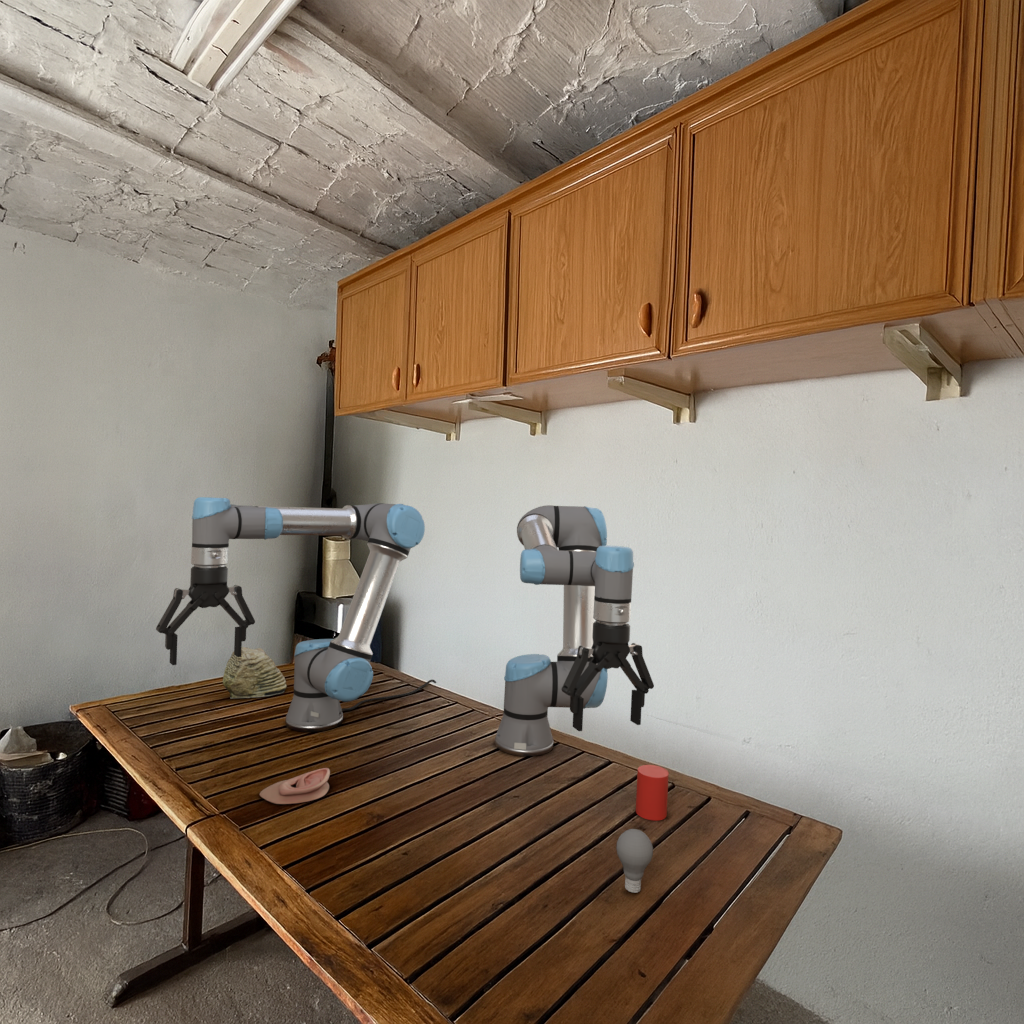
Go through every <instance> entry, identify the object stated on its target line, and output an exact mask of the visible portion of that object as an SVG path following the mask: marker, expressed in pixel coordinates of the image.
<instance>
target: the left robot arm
mask: <svg viewBox="0 0 1024 1024" xmlns="http://www.w3.org/2000/svg"><path fill="white" fill-rule="evenodd" d="M191 519H192V522H191V526H192V527H191V529H192V530H191V539H192V540H191V552H190V553H191V554H190V555H191V557H190V564H191V565H193V566H192V567H190V582H189V584H190V585H189V588H188V589H186V588H185V589H182V588H179V587H176V588H174V589H173V595H172V599H171V601H170V603H169V604H168V606H167V607H166V609H165V611H164V613H163V615H162V616H161V618H160V619H159V622H158V623H157V625H156V627H155V630H156V631H157V632H158V633H160V634H164V635H165V636H164V637H165V639H164V648H165V649H166V650H167V651H168V650H169V663H170V665H171V666H177V661H178V658H177V657H178V633H176V632H177V631H178V629H180V627H181V626H182V625H183V624H184V623H185V621H186V620H187V619H188V618H189V617H190V616H191V615H192V614H193V612H195V611H196V610H197V609H198V608H201V609H208V608H218V607H219V606H220V607H221V608H222V609H223V610H224V611H225V612H226V613H227V614H228V616H230V618H231V619H232V620H233V621H234V622H235V623H236V624H237V625H238V626H234V641H233V642H234V646H233V652H234V655H235V656H237V657H241V648H242V647H243V646H242V645H243V644H242V643H243V642H246V640H247V629H248V628H249V626H251V625H252V626H253V625H254V624H255V623H256V620H255V618H254V616H253V614H252V612H251V610H250V607H249V606H248V604H247V602H246V600H245V598H244V596H243V589H242V588H243V587H242V586H240V585H238V584H234V585H233V586H228V576H229V575H228V572H229V568H228V567H227V566H226V565H228V564H229V546H230V545H229V542H230V540H265V541H266V540H269V539H278V538H279V537H280V536H342V538H344V539H346V540H359V541H366V542H367V544H366V545H367V547H368V550H369V554H368V557H367V559H366V561H365V564H364V567H363V570H362V573H361V575H360V577H359V580H358V583H357V587H356V588H355V591H354V594H353V597H352V599H351V602H350V604H349V608H348V610H347V611H346V612H347V613H346V615H345V618H344V621H343V623H342V626H341V628H340V631H339V634H338V636H336V637H335V638H319V639H308V640H303V641H300V642H297V644H296V645H295V650H294V655H293V657H294V672H293V695H292V696H293V697H292V699H291V702H290V704H289V708H288V711H287V713H286V715H285V726H286V728H287V729H289V730H291V731H294V732H295V731H296V732H301V733H316V732H325V731H329V730H332V729H335V728H337V727H339V726H340V725H342V723H343V722H344V714H343V712H348V711H349V712H350V711H353V710H355V709H356V708H358V706H360V705H362V704H364V703H368V702H373V701H383V700H389V699H395V698H396V699H397V698H401V697H406V696H410V695H412V694H415V693H417V692H419V691H420V690H421V689H422V688H425V687H426V686H427V685H429V684H430V683H434V684H437V681H436V680H435V679H429V680H428V681H426V682H424V683H423V684H422V685H420V686H419V687H417V688H415V689H414V690H411V691H408V692H404V693H398V694H393V695H388V696H380V697H371V698H366V699H363V700H360V701H359V702H357V703H356V704H355V705H353V706H350V707H346V708H344V707H343V708H342V706H341V702H345V703H347V702H353V701H357V699H359V698H361V697H362V696H364V694H366V692H368V690H369V689H370V687H371V684H372V683H373V680H374V670H373V667H372V665H371V660H372V658H373V654H374V653H373V651H372V649H371V644H372V641H373V638H374V635H375V633H376V630H377V627H378V624H379V621H380V619H381V616H382V613H383V610H384V608H385V605H386V602H387V599H388V596H389V595H390V594H389V593H390V591H391V588H392V585H393V583H394V579H395V577H396V574H397V571H398V569H399V567H400V563H401V562H402V561H404V560H406V559H408V557H409V554H410V552H411V549H413V548H415V547H416V546H418V545H420V543H421V542H422V540H424V535H425V531H426V525H425V521H424V519H423V515H422V514H421V513H420V512H419V510H418V509H416V508H415V507H414V506H412V505H408V504H407V505H406V504H404V503H384V502H383V503H382V502H377V503H367V504H357V505H356V504H355V505H350V504H347V505H344V506H343V507H342V508H341V507H340V508H338V507H336V508H334V507H305V506H304V507H303V506H302V507H301V506H270V505H239V504H232V503H231V500H230V498H227V497H212V496H211V497H210V496H208V497H207V496H200V497H197V498H196V499H194V501H193V506H192V516H191ZM229 593H230V595H231V596H233V597H234V599H235V602H236V604H237V606H238V607H239V610H240V611H241V614H242V615H243V617H244V619H243V618H242V617H241V616H240V614H239V613H238V612H237V611H236V610H235V609H234V608H233V607H232V605H230V603H229V602H228V601H227V600H226V599H225V598H226V597H227V596H228V595H229ZM187 596H188V597H189V598H190V600H189V601H188V603H187V604H186V606H185V607H184V608H183V609H182V610H181V611H180V613H178V615H176V617H175V618H174V619H173V617H174V615H175V614H176V612H177V610H178V608H179V607H180V605H181V603H182V600H184V599H185V598H186V597H187ZM172 619H173V620H172Z"/></svg>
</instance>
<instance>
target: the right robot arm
mask: <svg viewBox="0 0 1024 1024" xmlns="http://www.w3.org/2000/svg"><path fill="white" fill-rule="evenodd" d="M516 535H517V536H516V537H517V540H518V541H519V542H520V544H521V545H522V546H523V548H524V549H523V550H522V551H521V553H520V558H519V578H520V581H521V583H523V584H530V585H531V584H532V585H535V586H538V585H539V586H540V585H547V586H549V585H550V586H563V609H562V610H563V612H562V613H563V614H562V615H563V616H562V617H563V618H562V619H563V620H562V622H563V623H562V624H563V625H562V649H561V650H560V651H559V652H558V653H557V656H556V659H557V660H556V661H551V658H550V656H549V655H546V654H540V653H528V654H522V655H521V654H520V655H518V656H515V657H513V658H510V659H509V660H508V661H507V663H506V665H505V673H504V693H503V694H504V695H503V714H502V717H501V720H500V723H499V726H498V728H497V731H496V734H495V740H494V744H495V747H496V748H497V749H498V750H500V751H501V752H504V753H506V754H509V755H513V756H519V757H535V756H536V757H537V756H542V755H546V754H548V753H550V752H551V751H552V750H553V748H554V736H553V734H552V729H551V726H550V725H551V724H550V722H549V717H548V716H549V715H548V712H549V710H548V709H549V708H568V709H569V711H570V712H571V713H572V728H574V729H575V730H576V731H578V732H583V722H584V710H585V709H597V708H598V707H600V706H601V705H602V704H603V702H604V701H605V697H606V692H607V688H608V680H609V679H608V678H609V674H608V670H609V669H610V670H611V669H612V668H613V669H621V670H622V671H623V673H624V674H625V676H626V678H627V679H628V680H629V681H630V683H631V684H632V686H633V687H634V688H635V689H631V700H630V717H629V719H630V722H632V723H633V724H635V725H636V726H641V725H642V708H644V707H645V700H646V694H649V690H652V689H654V687H655V684H654V682H653V678H652V676H651V674H650V671H649V669H648V666H647V664H646V661H645V658H644V655H643V646H642V645H641V644H638V643H636V642H632V643H631V644H630V645H629V642H630V641H631V625H630V622H631V613H632V596H633V593H632V592H633V575H634V567H635V562H634V551H633V549H632V548H631V547H630V546H623V545H607V542H608V539H607V538H608V529H607V523H606V518H605V515H604V513H603V511H602V510H601V509H600V508H598V507H589V506H586V505H585V506H573V505H572V506H571V505H552V504H551V505H550V504H549V505H548V504H546V505H540V506H537V507H534V508H532V509H531V510H529V511H527V512H525V514H523V516H521V518H519V521H518V522H517V526H516ZM629 654H630V655H631V658H632V660H633V663H634V665H635V668H636V671H637V673H636V672H635V670H634V669H633V666H632V665H631V663H630V662H629V660H628V659H627V657H628V656H629Z"/></svg>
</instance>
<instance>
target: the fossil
mask: <svg viewBox="0 0 1024 1024" xmlns="http://www.w3.org/2000/svg"><path fill="white" fill-rule="evenodd" d="M222 676H223V677H222V685H223V687H224V688H225V690H226V691H228V693H229V698H230V699H250V698H264V697H271V696H275V695H281V694H284V693H285V691H286V689H287V687H288V686H287V680H286V678H285V676H284V674H283V673H282V672H281V669H279V668H278V667H277V665H276V663H275V662H274V660H273V659H272V658H271V657H270V656H269V655H268V654H267V653H266V652H265V650H264V649H263V648H260V647H258V648H251V647H247V646H246V647H245V646H242V648H241V657H237V656H235V655H234V651H232V653H231V656H230V657H229V659H228V660H227V663H226V666H225V668H224V671H223V675H222Z"/></svg>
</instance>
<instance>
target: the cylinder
mask: <svg viewBox="0 0 1024 1024" xmlns="http://www.w3.org/2000/svg"><path fill="white" fill-rule="evenodd" d="M669 774H670V773H669V770H668V769H666V768H665V767H662V766H659V765H656V764H655V765H654V764H643V765H639V766H638V767H637V776H636V792H635V793H636V797H635V813H636V815H638V816H639V817H640V818H642V819H645V820H648V821H654V822H655V821H656V822H657V821H662V820H665V819H666V818H667V816H668V795H669V778H670V777H669V776H670V775H669Z"/></svg>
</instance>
